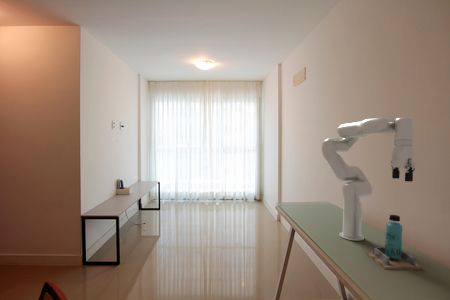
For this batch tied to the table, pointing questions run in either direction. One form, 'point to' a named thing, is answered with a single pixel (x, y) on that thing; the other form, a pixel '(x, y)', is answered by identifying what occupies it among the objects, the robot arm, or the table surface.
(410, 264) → the tray
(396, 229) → the beverage bottle
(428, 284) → the table surface
